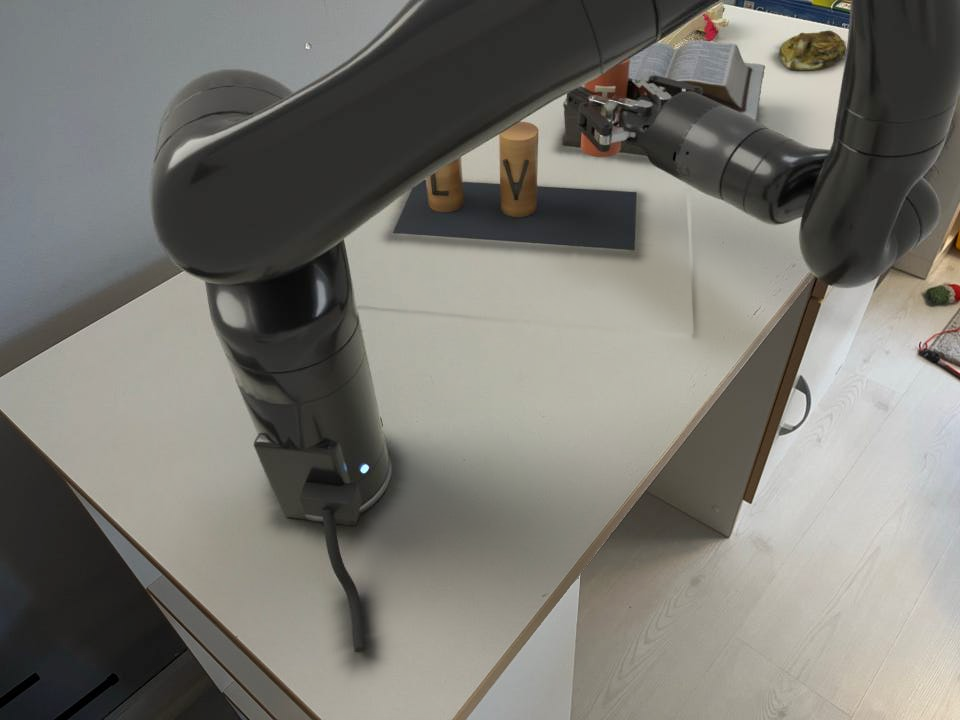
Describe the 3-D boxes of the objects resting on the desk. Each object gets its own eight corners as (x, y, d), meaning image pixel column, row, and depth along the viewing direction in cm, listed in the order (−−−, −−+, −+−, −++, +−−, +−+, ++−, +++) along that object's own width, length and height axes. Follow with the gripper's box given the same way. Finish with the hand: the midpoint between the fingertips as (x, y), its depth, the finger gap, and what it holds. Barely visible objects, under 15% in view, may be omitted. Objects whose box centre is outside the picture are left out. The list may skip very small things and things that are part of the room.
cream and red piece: (668, 89, 111) (740, 24, 123) (675, 33, 105) (749, -30, 117) (613, 74, 116) (687, 12, 128) (616, 19, 109) (694, -40, 121)
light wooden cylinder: (534, 219, 85) (535, 141, 78) (497, 216, 85) (495, 139, 78) (538, 198, 88) (540, 122, 81) (503, 196, 89) (502, 120, 82)
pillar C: (460, 214, 86) (454, 137, 79) (424, 212, 87) (416, 135, 80) (467, 193, 89) (462, 118, 82) (432, 191, 90) (425, 116, 83)
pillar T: (620, 158, 77) (629, 66, 70) (579, 156, 78) (584, 65, 71) (621, 138, 80) (630, 48, 73) (582, 136, 81) (587, 47, 74)
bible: (732, 191, 89) (750, 115, 82) (537, 143, 99) (538, 73, 92) (778, 111, 102) (798, 41, 95) (603, 77, 113) (609, 11, 106)
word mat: (633, 254, 80) (634, 249, 80) (393, 236, 84) (392, 232, 84) (636, 196, 89) (636, 191, 88) (416, 182, 93) (416, 178, 92)
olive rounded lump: (798, 39, 122) (764, 69, 114) (803, 10, 119) (768, 39, 111) (856, 44, 118) (825, 76, 109) (863, 14, 114) (831, 44, 106)
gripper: (769, 85, 66) (639, 32, 77) (658, 133, 61) (535, 69, 71) (751, 158, 72) (632, 99, 82) (648, 208, 66) (534, 139, 77)
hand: (587, 86), depth 77 cm, fingers closed on pillar T, 4 cm apart
